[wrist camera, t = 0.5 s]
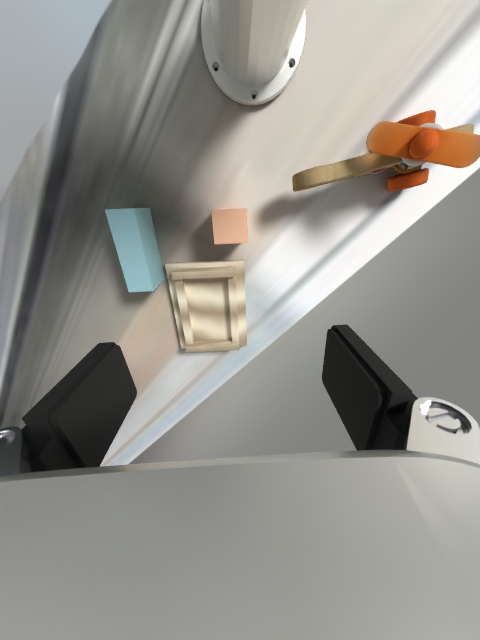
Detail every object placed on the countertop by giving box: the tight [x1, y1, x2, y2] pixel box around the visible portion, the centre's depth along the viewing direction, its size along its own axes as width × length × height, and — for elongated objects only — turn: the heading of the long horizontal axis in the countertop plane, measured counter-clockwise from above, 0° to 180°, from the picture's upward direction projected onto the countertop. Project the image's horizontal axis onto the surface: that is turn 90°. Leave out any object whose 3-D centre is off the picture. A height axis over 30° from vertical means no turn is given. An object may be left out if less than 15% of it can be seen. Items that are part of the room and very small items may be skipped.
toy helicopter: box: [292, 110, 480, 192], centre depth 28 cm, size 8×21×14 cm, turn 103°
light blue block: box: [105, 208, 164, 292], centre depth 36 cm, size 12×4×6 cm, turn 2°
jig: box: [165, 260, 247, 352], centre depth 42 cm, size 18×14×4 cm
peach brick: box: [211, 209, 248, 244], centre depth 34 cm, size 4×5×6 cm
